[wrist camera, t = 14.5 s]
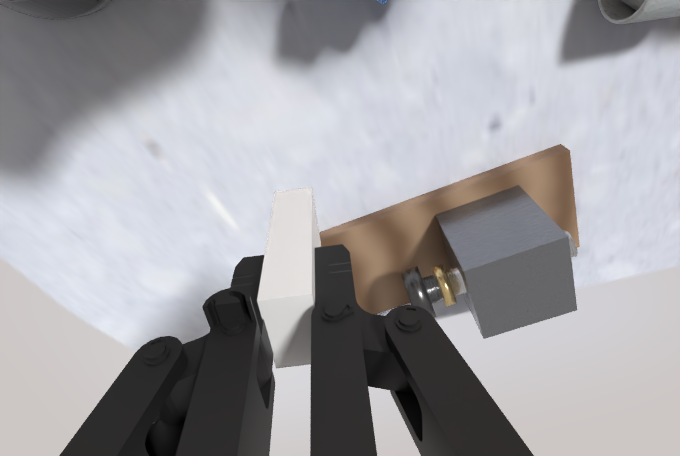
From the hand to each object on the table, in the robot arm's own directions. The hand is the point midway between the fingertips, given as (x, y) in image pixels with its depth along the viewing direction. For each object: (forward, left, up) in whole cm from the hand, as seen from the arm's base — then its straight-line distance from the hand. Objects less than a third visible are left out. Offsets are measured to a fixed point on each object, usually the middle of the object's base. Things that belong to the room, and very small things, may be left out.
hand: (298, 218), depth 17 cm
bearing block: (+19, -21, -27) cm, 39 cm away
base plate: (+15, -22, -29) cm, 40 cm away
